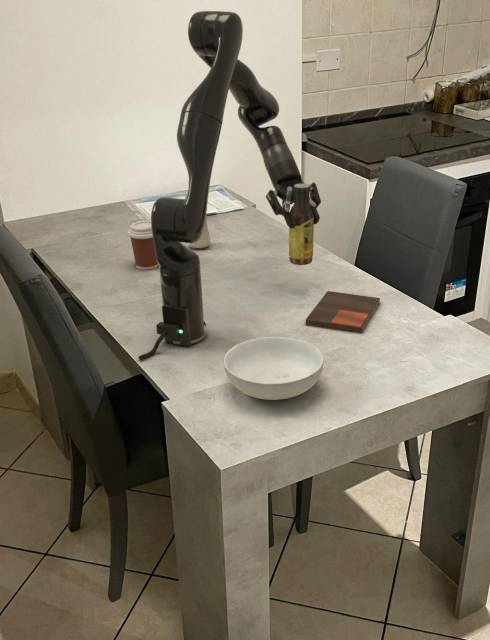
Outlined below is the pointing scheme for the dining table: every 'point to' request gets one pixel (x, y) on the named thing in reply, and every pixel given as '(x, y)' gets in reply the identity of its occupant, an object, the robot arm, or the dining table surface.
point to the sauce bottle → (301, 227)
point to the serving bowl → (273, 367)
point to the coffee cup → (143, 245)
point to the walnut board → (343, 312)
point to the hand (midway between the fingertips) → (305, 224)
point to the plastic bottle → (202, 236)
